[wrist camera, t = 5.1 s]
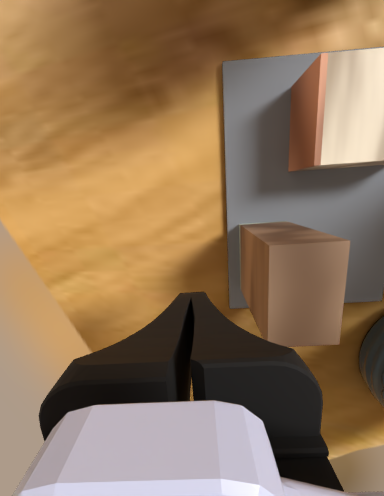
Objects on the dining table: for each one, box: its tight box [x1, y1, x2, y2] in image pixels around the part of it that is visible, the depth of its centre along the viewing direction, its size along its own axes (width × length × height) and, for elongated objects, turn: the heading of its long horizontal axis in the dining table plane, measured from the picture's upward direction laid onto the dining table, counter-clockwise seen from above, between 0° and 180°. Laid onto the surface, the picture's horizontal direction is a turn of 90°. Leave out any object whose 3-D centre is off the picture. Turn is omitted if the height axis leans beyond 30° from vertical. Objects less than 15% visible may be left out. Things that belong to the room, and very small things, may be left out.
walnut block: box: [239, 221, 350, 347], centre depth 16 cm, size 4×6×8 cm, turn 4°
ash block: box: [288, 48, 384, 172], centre depth 15 cm, size 4×6×8 cm
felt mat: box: [222, 47, 384, 309], centre depth 18 cm, size 14×20×1 cm
